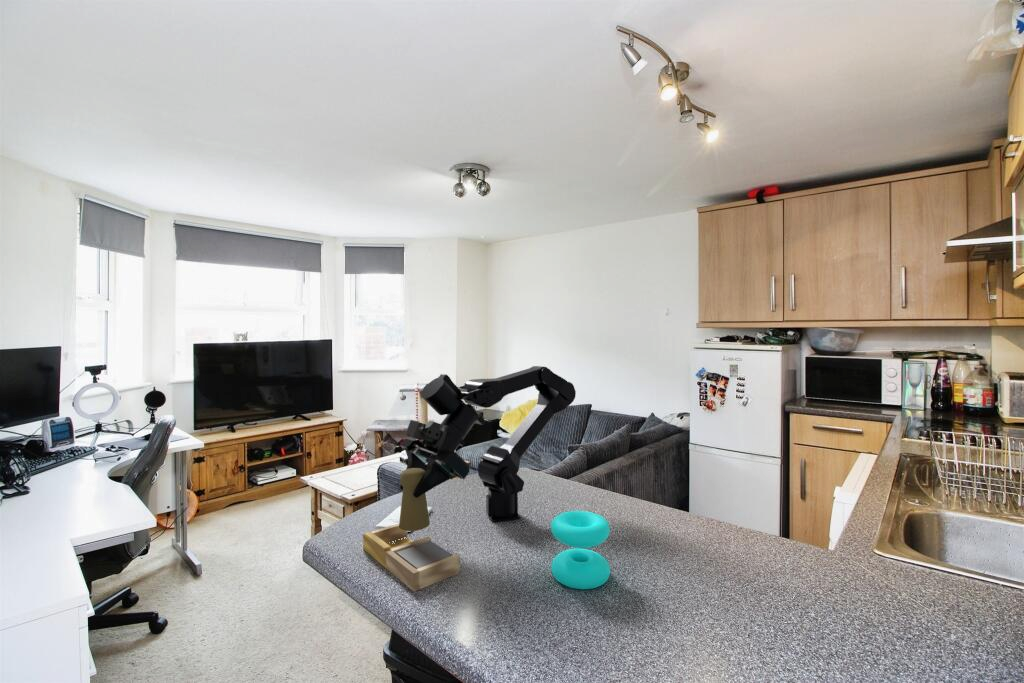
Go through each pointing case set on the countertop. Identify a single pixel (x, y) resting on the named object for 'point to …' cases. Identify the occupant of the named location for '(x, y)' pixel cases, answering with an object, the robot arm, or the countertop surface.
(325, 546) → the countertop surface
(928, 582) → the countertop surface
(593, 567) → the donuts
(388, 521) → the external hard drive
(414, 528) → the olive brown pawn
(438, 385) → the robot arm
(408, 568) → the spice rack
